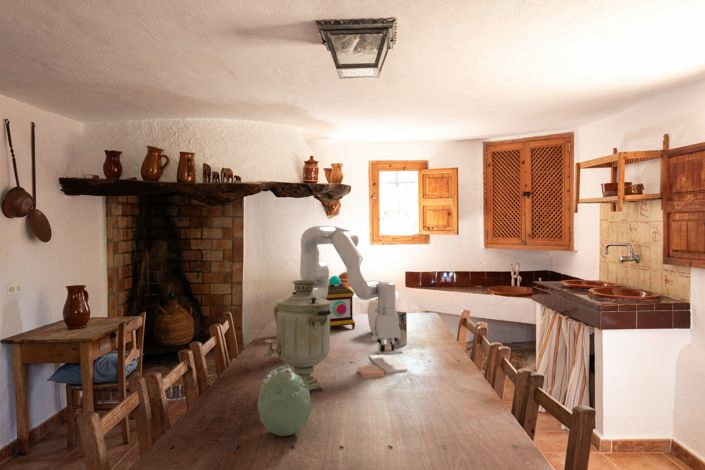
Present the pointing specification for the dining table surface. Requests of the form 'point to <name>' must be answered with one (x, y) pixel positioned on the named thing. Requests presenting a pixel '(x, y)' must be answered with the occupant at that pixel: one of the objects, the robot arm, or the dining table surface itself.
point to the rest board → (387, 363)
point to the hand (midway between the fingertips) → (387, 353)
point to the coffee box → (401, 330)
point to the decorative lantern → (340, 303)
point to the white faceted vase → (373, 313)
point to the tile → (370, 371)
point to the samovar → (302, 331)
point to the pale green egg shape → (284, 401)
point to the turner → (388, 350)
